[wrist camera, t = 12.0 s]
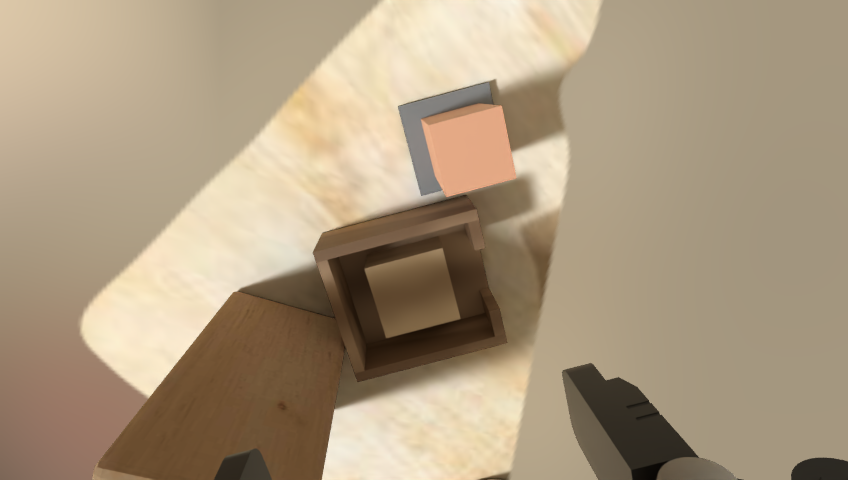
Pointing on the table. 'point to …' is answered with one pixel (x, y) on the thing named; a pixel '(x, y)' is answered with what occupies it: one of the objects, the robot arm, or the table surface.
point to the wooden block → (239, 398)
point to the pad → (415, 132)
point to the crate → (410, 288)
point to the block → (469, 148)
